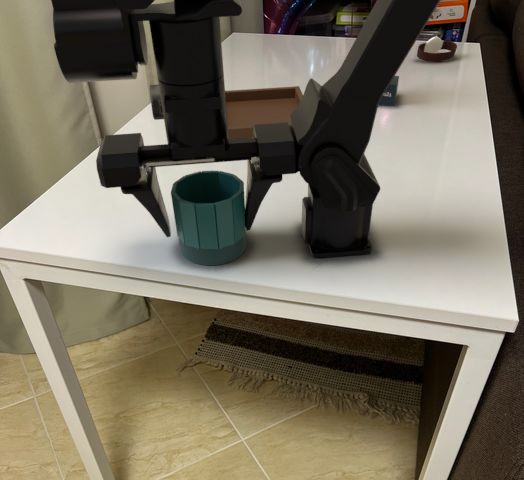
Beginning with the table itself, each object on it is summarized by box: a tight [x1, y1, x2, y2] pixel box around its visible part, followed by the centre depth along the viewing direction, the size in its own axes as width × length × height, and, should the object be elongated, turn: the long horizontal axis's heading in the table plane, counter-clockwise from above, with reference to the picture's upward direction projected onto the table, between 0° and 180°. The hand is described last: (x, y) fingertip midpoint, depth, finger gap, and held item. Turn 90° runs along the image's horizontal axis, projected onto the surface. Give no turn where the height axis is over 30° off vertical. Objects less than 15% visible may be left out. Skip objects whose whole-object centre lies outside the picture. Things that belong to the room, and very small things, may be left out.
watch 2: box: [416, 35, 458, 63], centre depth 103 cm, size 8×5×4 cm, turn 105°
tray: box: [225, 85, 304, 140], centre depth 84 cm, size 15×16×2 cm
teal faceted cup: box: [170, 170, 247, 266], centre depth 57 cm, size 7×7×7 cm
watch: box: [378, 75, 400, 107], centre depth 86 cm, size 6×8×11 cm
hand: (208, 231), depth 58 cm, fingers open, 8 cm apart
